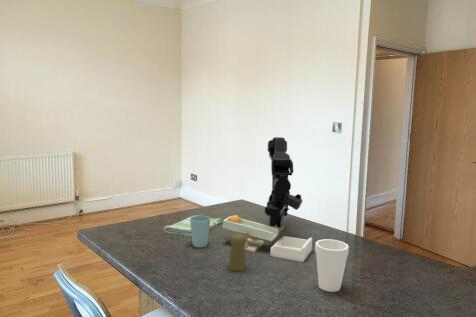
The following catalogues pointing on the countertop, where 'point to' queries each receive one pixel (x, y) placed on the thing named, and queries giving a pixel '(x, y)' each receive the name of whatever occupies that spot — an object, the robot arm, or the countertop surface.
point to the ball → (235, 219)
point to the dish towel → (189, 226)
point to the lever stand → (252, 243)
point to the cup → (200, 230)
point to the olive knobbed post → (237, 253)
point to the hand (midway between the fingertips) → (279, 226)
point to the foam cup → (331, 263)
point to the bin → (292, 248)
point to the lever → (253, 228)
